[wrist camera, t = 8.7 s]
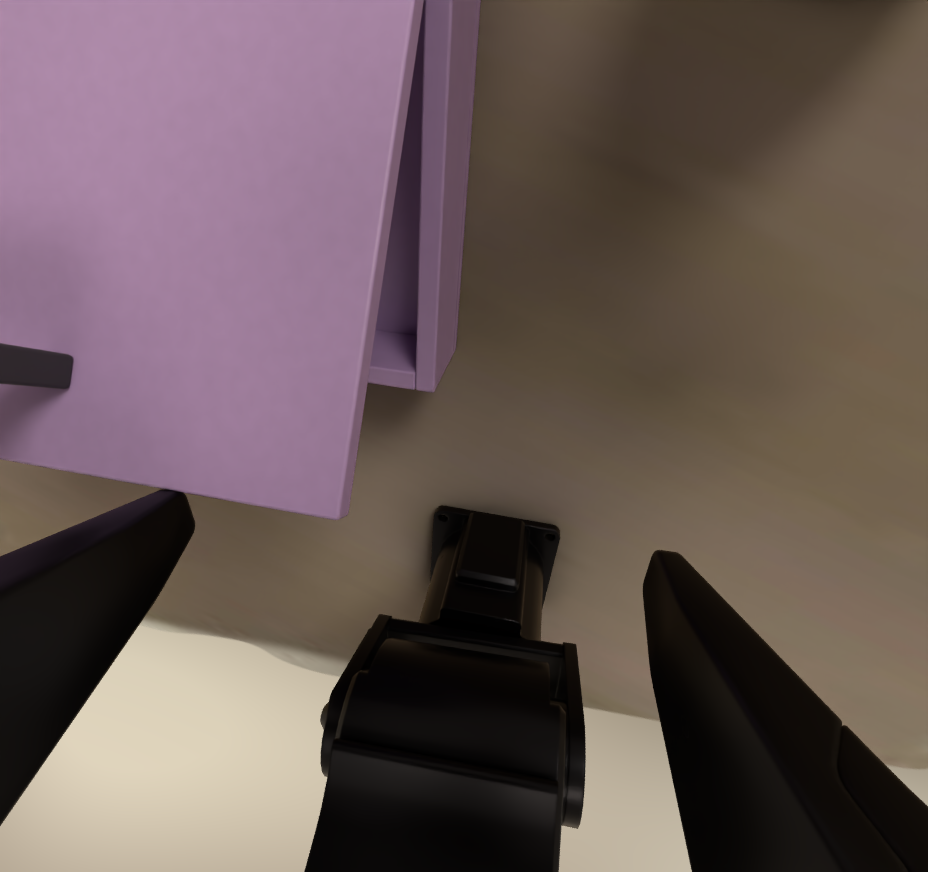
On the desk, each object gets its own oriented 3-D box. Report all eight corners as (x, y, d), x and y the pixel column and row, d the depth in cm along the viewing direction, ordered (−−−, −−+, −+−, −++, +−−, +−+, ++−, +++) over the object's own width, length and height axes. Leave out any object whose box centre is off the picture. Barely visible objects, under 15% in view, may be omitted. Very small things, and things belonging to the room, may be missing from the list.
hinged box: (456, 349, 20) (434, 393, 17) (107, 301, 22) (22, 332, 19) (492, -162, 13) (466, -277, 9) (-48, -175, 14) (-246, -277, 11)
